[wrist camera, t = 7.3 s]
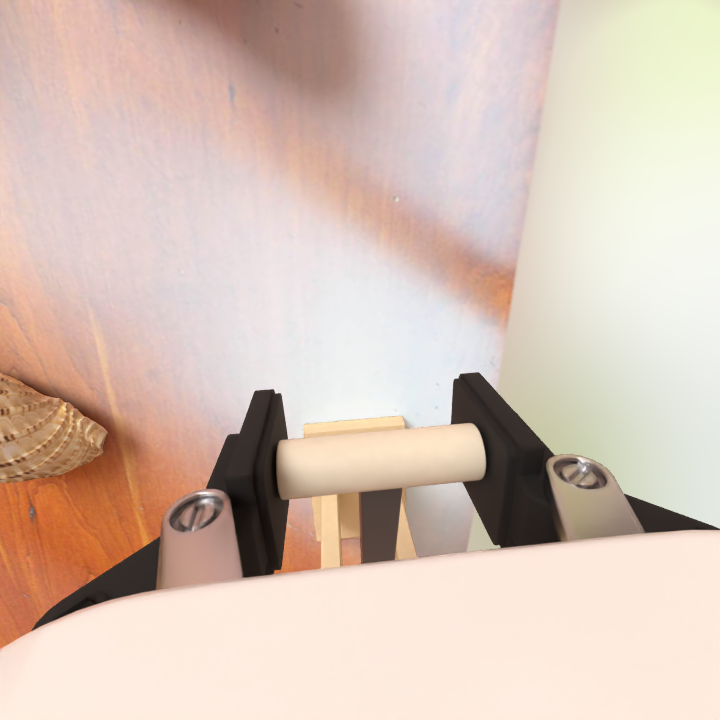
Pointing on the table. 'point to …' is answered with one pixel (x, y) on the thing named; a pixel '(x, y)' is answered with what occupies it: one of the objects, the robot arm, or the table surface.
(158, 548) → the robot arm
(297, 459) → the lever
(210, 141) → the table surface
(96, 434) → the seashell
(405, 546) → the bracket
